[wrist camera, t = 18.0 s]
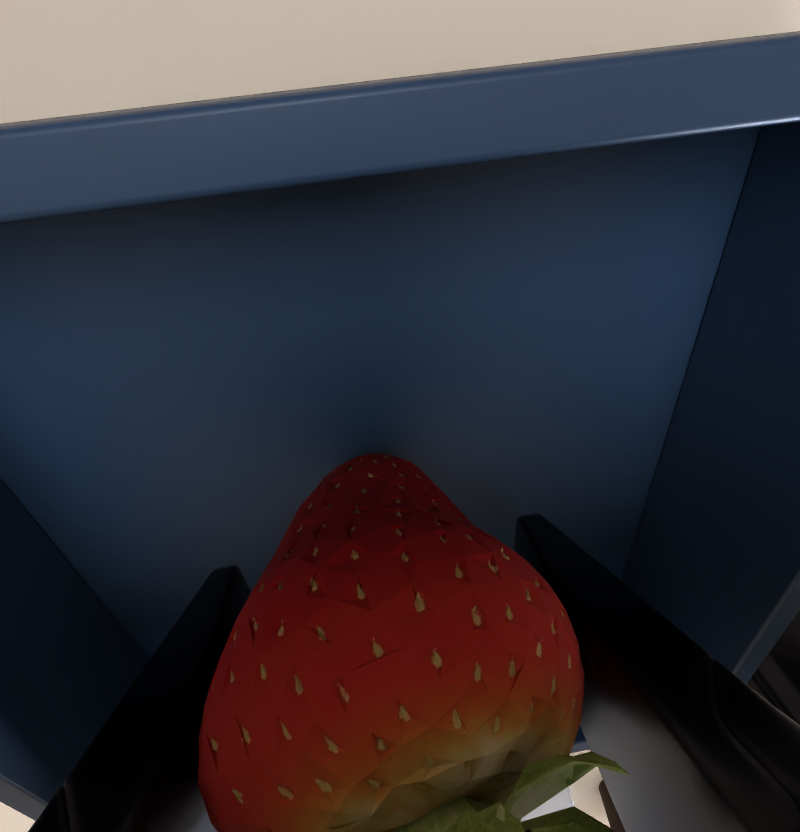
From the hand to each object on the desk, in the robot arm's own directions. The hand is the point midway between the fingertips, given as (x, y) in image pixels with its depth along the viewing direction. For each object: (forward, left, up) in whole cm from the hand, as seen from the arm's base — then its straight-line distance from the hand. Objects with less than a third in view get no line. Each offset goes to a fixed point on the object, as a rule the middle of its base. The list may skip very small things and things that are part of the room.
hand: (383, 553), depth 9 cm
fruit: (0, 0, -2) cm, 2 cm away
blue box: (0, 0, -3) cm, 3 cm away
